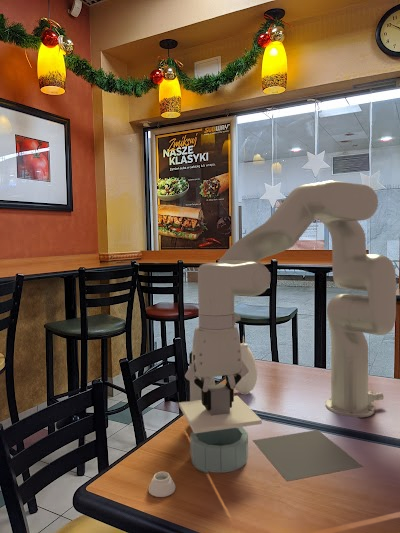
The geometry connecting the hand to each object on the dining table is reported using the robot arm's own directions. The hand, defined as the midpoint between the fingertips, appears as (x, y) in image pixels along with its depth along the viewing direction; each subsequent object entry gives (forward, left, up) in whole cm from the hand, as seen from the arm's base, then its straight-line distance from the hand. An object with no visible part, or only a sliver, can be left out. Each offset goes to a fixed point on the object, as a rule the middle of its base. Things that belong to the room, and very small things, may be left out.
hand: (217, 405), depth 88 cm
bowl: (0, 0, -12) cm, 12 cm away
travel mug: (-1, -16, -12) cm, 20 cm away
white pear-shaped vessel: (-19, -34, -12) cm, 41 cm away
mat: (-18, +4, -12) cm, 22 cm away
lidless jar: (+14, +7, -12) cm, 20 cm away
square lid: (0, 0, -2) cm, 2 cm away
